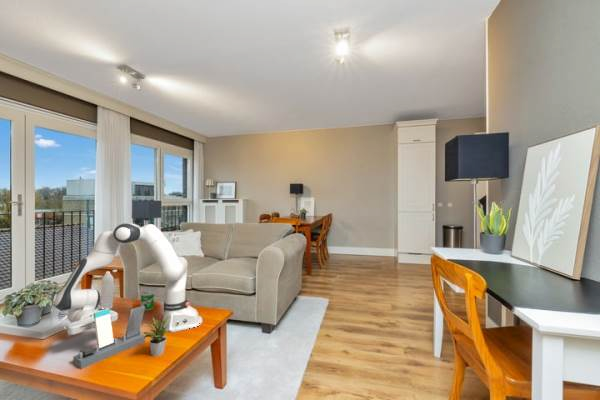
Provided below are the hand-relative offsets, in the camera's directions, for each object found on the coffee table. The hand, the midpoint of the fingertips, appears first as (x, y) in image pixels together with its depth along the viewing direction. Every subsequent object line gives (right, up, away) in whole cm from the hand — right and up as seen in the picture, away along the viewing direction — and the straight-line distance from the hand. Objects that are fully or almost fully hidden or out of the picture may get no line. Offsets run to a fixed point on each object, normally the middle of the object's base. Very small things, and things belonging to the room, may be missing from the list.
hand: (100, 326), depth 128 cm
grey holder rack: (+6, -12, -1) cm, 13 cm away
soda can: (-6, -12, +49) cm, 51 cm away
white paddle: (+5, -7, -3) cm, 10 cm away
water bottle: (-33, -12, +50) cm, 61 cm away
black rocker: (+2, -7, -9) cm, 12 cm away
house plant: (+28, -12, -1) cm, 31 cm away
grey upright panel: (+11, -8, +7) cm, 15 cm away
